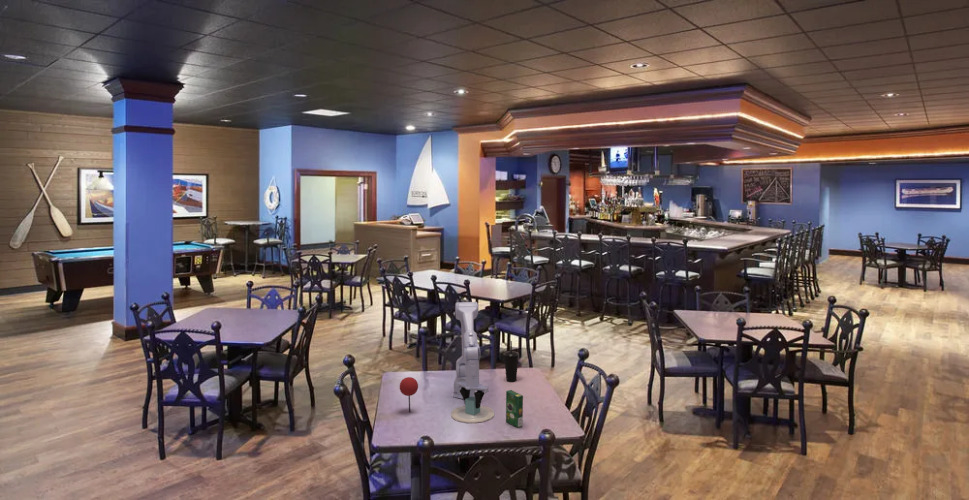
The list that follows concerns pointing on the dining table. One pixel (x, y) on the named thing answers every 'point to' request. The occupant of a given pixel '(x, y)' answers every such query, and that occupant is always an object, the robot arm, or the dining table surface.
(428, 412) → the dining table surface
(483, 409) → the serving plate
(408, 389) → the lollipop
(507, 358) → the drinking cup
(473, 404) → the teal block
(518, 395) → the coffee box
